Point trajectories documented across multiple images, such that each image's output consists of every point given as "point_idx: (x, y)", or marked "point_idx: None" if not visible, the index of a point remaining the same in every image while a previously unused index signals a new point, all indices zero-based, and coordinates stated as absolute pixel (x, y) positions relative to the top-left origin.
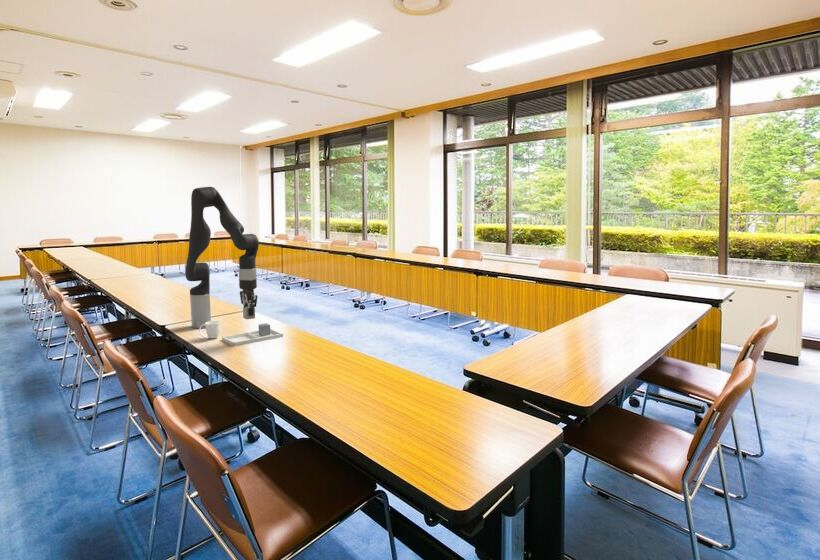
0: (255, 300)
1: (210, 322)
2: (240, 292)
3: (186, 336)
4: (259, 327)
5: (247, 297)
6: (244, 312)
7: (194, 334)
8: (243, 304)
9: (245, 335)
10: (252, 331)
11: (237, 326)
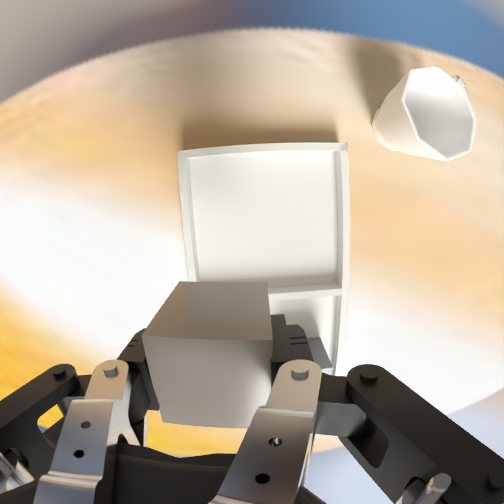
0: (12, 448)
1: (469, 120)
2: (485, 494)
3: (473, 77)
4: (318, 360)
5: (57, 471)
6: (221, 307)
7: (486, 112)
8: (295, 373)
9: (338, 275)
10: (346, 320)
11: (490, 297)
